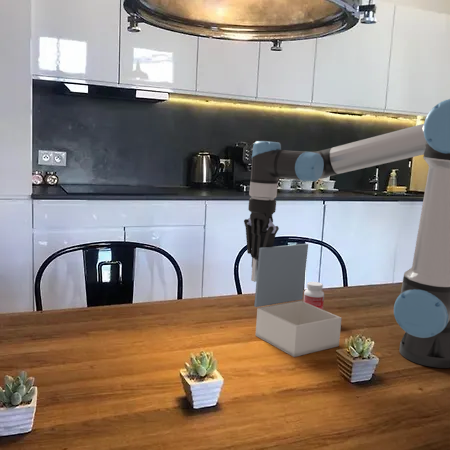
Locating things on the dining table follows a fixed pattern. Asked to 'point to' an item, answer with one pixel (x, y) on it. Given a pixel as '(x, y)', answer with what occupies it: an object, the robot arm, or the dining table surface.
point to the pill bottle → (314, 294)
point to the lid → (280, 274)
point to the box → (298, 327)
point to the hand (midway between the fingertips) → (256, 280)
